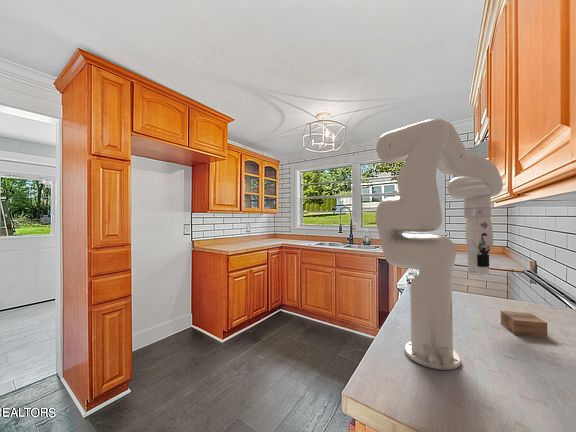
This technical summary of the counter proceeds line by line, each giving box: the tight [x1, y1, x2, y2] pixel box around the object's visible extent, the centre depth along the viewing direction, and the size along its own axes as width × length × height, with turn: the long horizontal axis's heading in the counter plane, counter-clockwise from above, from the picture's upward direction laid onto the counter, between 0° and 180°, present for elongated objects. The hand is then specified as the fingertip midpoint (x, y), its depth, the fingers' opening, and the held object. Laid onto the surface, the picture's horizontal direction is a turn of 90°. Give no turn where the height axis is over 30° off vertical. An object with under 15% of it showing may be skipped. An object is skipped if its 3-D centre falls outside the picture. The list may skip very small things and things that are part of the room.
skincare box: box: [466, 239, 490, 276], centre depth 88 cm, size 6×4×12 cm
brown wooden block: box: [500, 310, 548, 339], centre depth 79 cm, size 8×8×4 cm
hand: (478, 264), depth 88 cm, fingers closed on skincare box, 7 cm apart
